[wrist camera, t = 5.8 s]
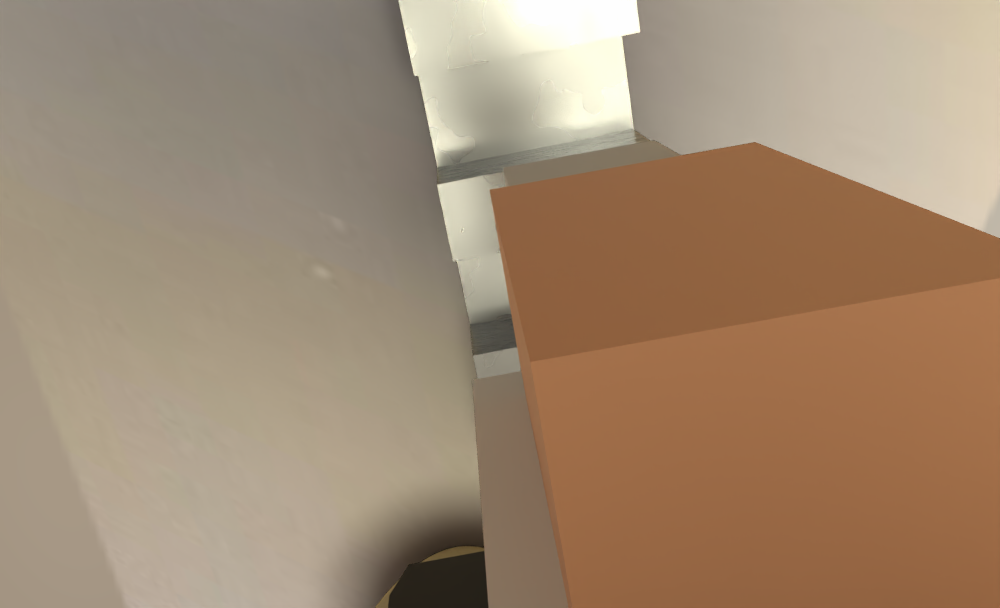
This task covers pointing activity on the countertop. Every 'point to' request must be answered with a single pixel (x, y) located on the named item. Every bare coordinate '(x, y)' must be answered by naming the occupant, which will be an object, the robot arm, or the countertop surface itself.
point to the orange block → (755, 382)
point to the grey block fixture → (512, 120)
